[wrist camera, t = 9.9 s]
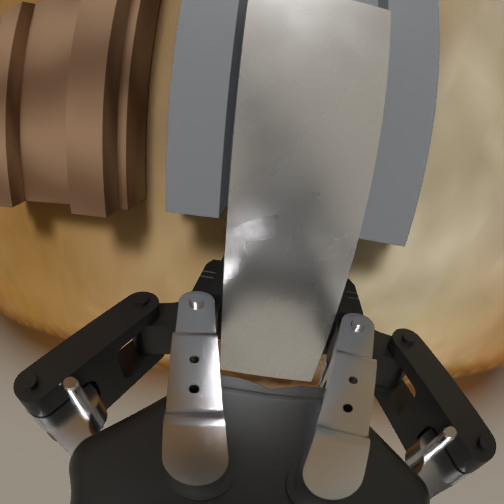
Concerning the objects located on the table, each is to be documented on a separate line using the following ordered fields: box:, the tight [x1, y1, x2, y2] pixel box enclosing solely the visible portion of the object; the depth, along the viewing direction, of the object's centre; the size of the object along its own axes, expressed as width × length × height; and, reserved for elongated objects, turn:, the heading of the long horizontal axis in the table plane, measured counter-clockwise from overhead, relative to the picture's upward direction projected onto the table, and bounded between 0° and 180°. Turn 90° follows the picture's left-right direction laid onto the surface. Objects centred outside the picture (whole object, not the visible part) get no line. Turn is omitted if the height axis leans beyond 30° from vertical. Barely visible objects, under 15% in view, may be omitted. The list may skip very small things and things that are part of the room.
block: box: [220, 0, 391, 382], centre depth 10 cm, size 14×4×4 cm, turn 175°
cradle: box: [0, 0, 161, 218], centre depth 10 cm, size 13×11×3 cm
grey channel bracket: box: [166, 0, 440, 247], centre depth 10 cm, size 12×11×3 cm
